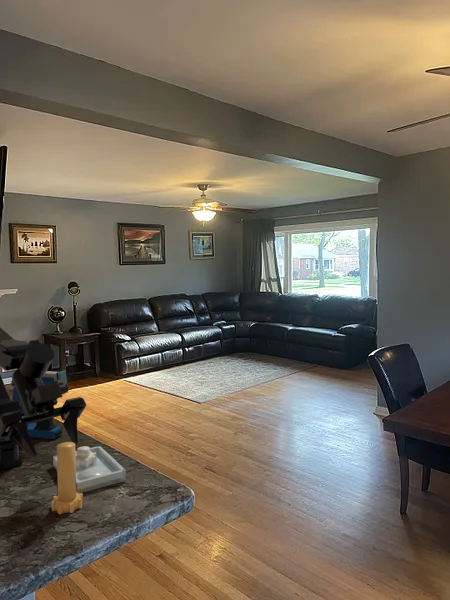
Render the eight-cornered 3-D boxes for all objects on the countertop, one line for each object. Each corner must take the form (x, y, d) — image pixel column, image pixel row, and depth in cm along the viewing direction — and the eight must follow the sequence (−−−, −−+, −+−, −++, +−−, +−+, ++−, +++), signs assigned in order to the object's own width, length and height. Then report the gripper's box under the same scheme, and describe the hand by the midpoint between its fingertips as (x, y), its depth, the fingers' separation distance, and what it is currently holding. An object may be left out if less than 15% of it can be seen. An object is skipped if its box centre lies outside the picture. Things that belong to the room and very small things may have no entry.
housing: (53, 466, 116) (52, 446, 115) (100, 455, 122) (99, 437, 122) (74, 495, 101) (73, 473, 100) (126, 480, 108) (125, 460, 107)
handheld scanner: (61, 440, 133) (60, 372, 132) (11, 436, 136) (10, 370, 135) (69, 435, 137) (68, 369, 136) (21, 431, 140) (20, 367, 139)
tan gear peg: (48, 504, 97) (46, 443, 96) (78, 495, 100) (76, 437, 99) (56, 517, 92) (54, 453, 91) (87, 508, 95) (85, 446, 94)
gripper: (-3, 376, 94) (23, 442, 87) (81, 362, 108) (108, 419, 101) (-16, 406, 100) (7, 471, 93) (65, 390, 113) (90, 445, 107)
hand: (56, 450), depth 98 cm, fingers open, 9 cm apart
